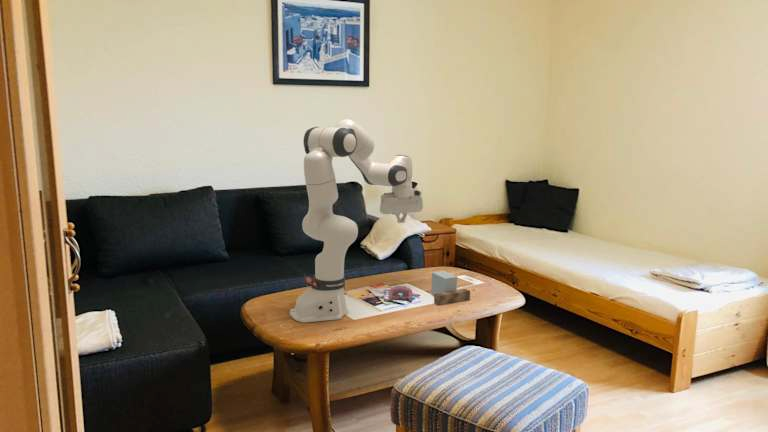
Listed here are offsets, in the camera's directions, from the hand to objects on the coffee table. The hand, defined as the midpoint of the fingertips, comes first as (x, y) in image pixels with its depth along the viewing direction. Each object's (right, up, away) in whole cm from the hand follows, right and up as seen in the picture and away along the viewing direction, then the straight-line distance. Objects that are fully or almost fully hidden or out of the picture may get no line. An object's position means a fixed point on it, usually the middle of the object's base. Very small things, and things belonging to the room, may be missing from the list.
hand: (401, 222), depth 254 cm
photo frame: (+28, -29, +12) cm, 42 cm away
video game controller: (-1, -33, -14) cm, 35 cm away
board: (+21, -33, -15) cm, 42 cm away
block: (+18, -32, -9) cm, 38 cm away
